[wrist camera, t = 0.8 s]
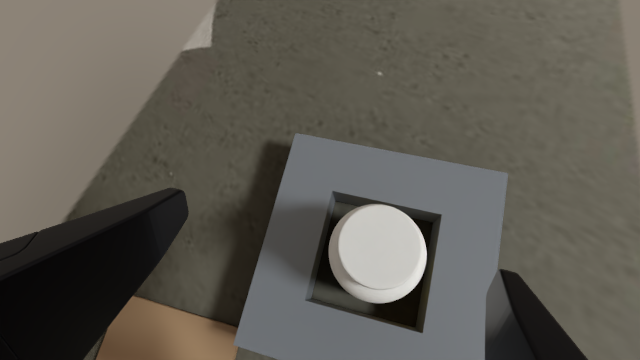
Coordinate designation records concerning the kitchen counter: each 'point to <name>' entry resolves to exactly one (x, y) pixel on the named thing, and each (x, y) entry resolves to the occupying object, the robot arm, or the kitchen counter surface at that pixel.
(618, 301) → the kitchen counter surface
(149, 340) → the pad
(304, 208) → the grey rectangular frame
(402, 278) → the supplement bottle
